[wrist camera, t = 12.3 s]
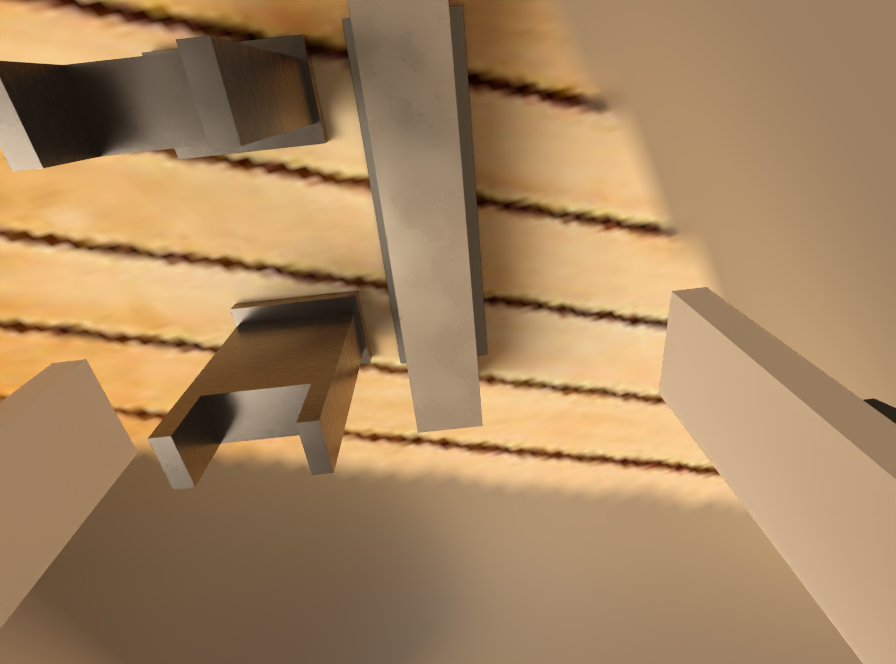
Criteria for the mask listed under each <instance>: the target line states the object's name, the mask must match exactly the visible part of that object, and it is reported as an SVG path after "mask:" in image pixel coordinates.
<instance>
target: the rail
mask: <svg viewBox="0 0 896 664" xmlns="http://www.w3.org/2000/svg"><path fill="white" fill-rule="evenodd" d="M348 5H349V11H350V17H351V23H352V30H353V36H354V42H355V48H356V54H357V60H358V66H359V73H360V79H361V85H362V91H363V97H364V103H365V110H366V116H367V122H368V128H369V134H370V140H371V146H372V153H373V159H374V165H375V171H376V177H377V183H378V189H379V196H380V202H381V208H382V214H383V220H384V226H385V233H386V239H387V245H388V251H389V257H390V263H391V269H392V276H393V282H394V288H395V294H396V300H397V306H398V313H399V319H400V325H401V331H402V337H403V343H404V349H405V356H406V362H407V368H408V374H409V380H410V386H411V392H412V399H413V405H414V411H415V417H416V423H417V429H418V433H419V432H429V431H438V430H448V429H457V428H467V427H476V426H483V425H482V412H481V400H480V387H479V375H478V363H477V350H476V338H475V325H474V313H473V301H472V288H471V276H470V263H469V251H468V239H467V226H466V214H465V202H464V189H463V177H462V164H461V152H460V140H459V127H458V115H457V102H456V90H455V78H454V65H453V53H452V40H451V28H450V16H449V3H448V0H348Z"/></svg>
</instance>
